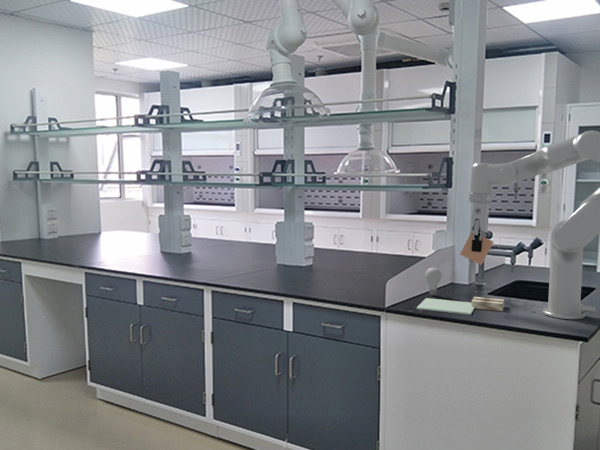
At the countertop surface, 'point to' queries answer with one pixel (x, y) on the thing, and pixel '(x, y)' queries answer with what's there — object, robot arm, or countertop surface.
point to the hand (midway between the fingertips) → (476, 250)
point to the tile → (476, 256)
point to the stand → (488, 303)
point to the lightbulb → (433, 279)
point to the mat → (446, 306)
